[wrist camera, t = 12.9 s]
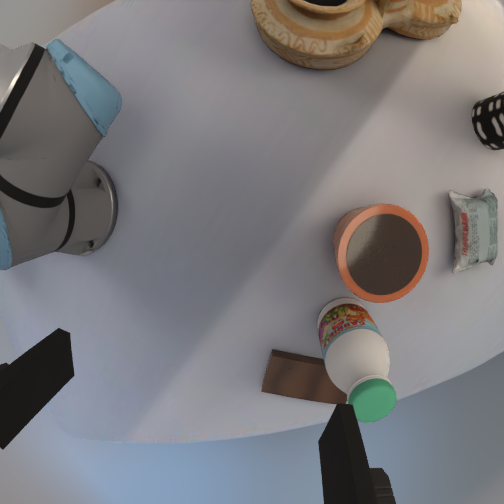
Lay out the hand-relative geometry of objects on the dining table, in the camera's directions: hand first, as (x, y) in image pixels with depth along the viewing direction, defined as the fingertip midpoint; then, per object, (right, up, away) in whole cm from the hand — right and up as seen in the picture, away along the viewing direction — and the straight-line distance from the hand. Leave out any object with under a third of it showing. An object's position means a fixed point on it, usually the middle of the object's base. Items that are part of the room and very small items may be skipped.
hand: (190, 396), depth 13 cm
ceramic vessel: (+20, +43, +21) cm, 52 cm away
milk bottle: (+16, -4, +31) cm, 35 cm away
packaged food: (+35, +10, +26) cm, 45 cm away
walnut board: (+12, -13, +33) cm, 37 cm away
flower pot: (+19, +8, +28) cm, 34 cm away
